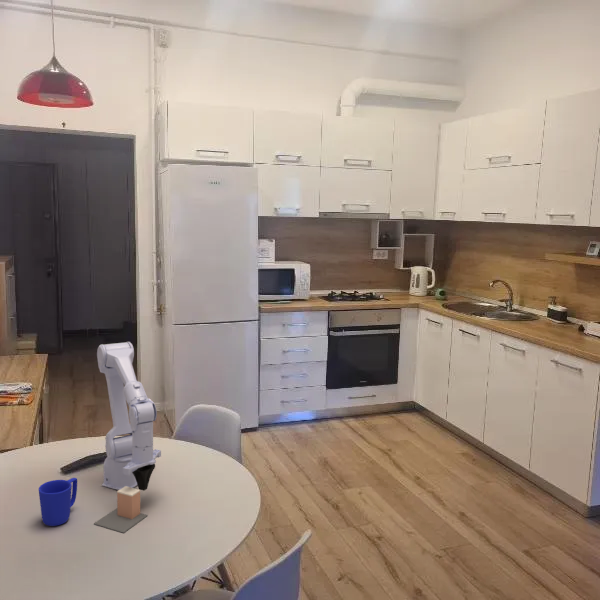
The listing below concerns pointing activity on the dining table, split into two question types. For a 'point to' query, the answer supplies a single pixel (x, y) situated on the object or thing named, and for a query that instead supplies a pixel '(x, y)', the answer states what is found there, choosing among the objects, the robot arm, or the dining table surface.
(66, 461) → the dining table surface
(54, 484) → the mug
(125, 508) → the block
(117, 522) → the mat
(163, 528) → the dining table surface
